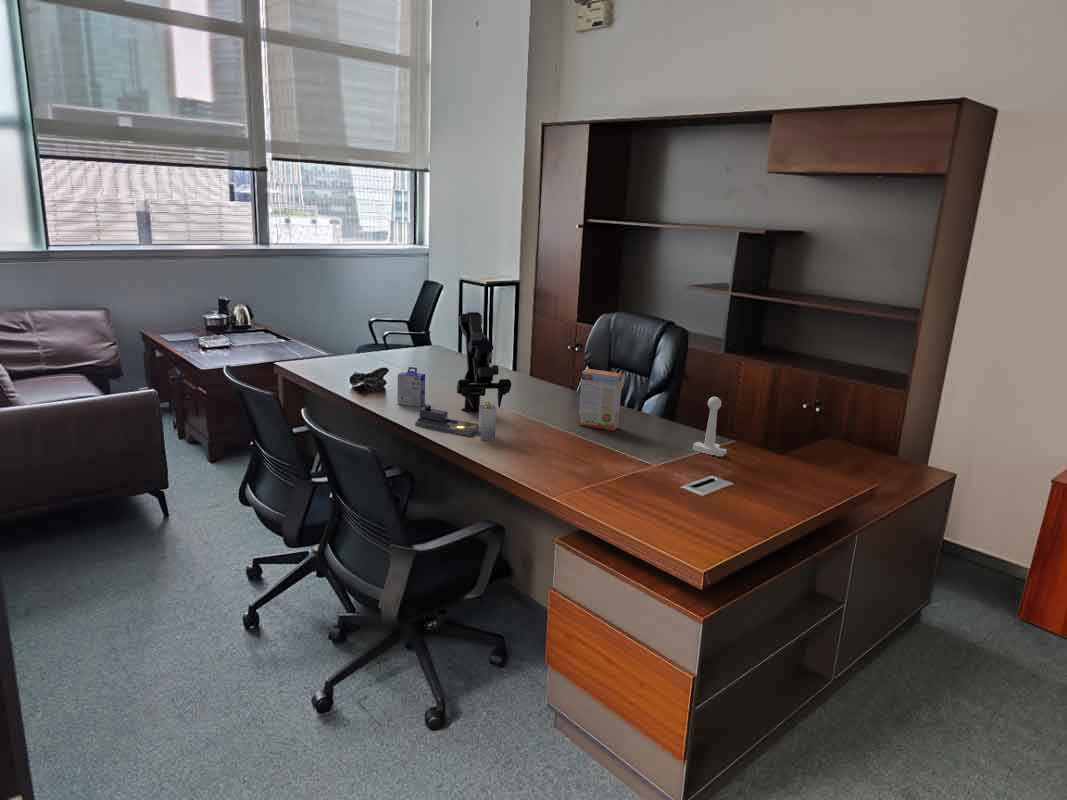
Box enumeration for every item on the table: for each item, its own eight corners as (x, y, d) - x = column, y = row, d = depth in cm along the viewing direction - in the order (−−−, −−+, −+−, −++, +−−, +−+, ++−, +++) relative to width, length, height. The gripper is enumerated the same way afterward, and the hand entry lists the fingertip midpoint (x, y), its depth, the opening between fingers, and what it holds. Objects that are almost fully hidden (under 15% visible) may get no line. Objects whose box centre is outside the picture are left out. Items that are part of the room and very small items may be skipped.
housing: (478, 435, 257) (479, 401, 253) (492, 434, 258) (493, 400, 255) (480, 440, 252) (481, 405, 249) (495, 439, 253) (496, 404, 250)
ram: (424, 416, 269) (425, 403, 267) (448, 421, 265) (448, 408, 263) (419, 419, 265) (419, 406, 264) (443, 423, 262) (443, 410, 260)
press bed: (430, 418, 272) (430, 412, 272) (484, 429, 264) (484, 423, 263) (415, 425, 263) (415, 419, 263) (470, 436, 255) (470, 430, 254)
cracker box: (618, 427, 274) (623, 373, 268) (613, 431, 269) (618, 376, 263) (583, 421, 279) (587, 367, 274) (577, 425, 274) (581, 370, 268)
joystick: (690, 450, 253) (697, 394, 247) (701, 445, 258) (708, 390, 253) (720, 459, 246) (727, 401, 241) (730, 453, 252) (737, 397, 246)
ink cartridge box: (425, 403, 291) (426, 367, 287) (420, 407, 286) (421, 371, 282) (402, 400, 293) (402, 365, 289) (396, 404, 288) (397, 368, 284)
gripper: (458, 356, 253) (462, 396, 246) (511, 356, 258) (517, 395, 250) (454, 373, 262) (458, 412, 255) (506, 373, 267) (511, 411, 260)
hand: (486, 407), depth 255 cm, fingers open, 9 cm apart
